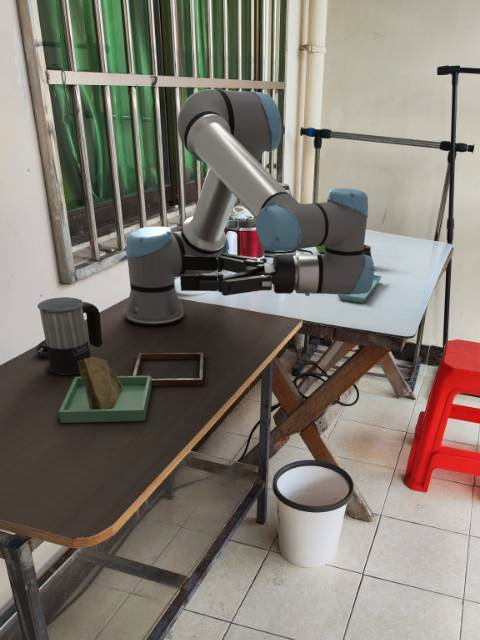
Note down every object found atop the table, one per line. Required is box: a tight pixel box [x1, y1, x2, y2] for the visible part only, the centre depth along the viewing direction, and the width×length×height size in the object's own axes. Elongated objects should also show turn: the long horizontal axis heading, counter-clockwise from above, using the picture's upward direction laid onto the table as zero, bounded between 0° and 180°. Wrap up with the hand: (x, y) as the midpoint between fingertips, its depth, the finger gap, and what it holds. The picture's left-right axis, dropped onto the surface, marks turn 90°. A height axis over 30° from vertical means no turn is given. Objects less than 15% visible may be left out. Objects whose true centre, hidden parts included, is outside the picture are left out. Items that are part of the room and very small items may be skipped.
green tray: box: [58, 375, 153, 424], centre depth 118 cm, size 15×15×2 cm
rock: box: [78, 356, 123, 410], centre depth 117 cm, size 11×9×10 cm
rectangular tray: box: [337, 274, 383, 304], centre depth 195 cm, size 26×9×2 cm, turn 163°
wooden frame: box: [132, 352, 205, 387], centre depth 133 cm, size 15×15×1 cm
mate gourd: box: [364, 244, 373, 259], centre depth 220 cm, size 7×8×10 cm
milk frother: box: [36, 296, 103, 376], centre depth 131 cm, size 14×16×15 cm
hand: (182, 272), depth 111 cm, fingers open, 13 cm apart
